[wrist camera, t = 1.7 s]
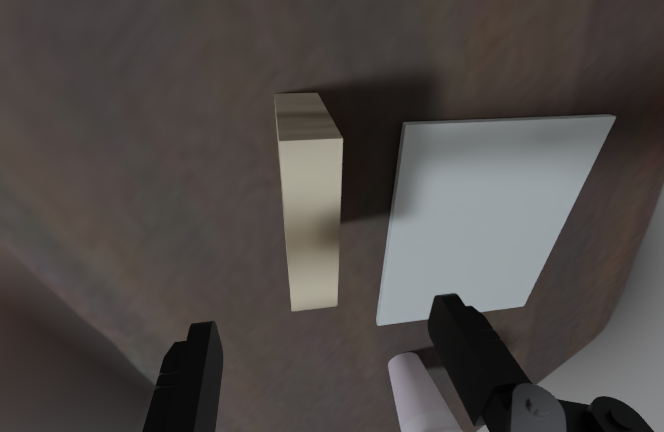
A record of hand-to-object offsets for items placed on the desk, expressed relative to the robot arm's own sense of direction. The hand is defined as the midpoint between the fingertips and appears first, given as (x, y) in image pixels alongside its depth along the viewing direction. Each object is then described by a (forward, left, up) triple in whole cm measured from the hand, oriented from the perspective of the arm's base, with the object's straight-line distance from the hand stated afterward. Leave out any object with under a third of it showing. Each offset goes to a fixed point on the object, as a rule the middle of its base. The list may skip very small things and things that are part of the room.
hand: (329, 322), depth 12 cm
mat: (+7, +15, -13) cm, 21 cm away
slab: (0, 0, -13) cm, 13 cm away
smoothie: (+25, +11, -13) cm, 30 cm away
